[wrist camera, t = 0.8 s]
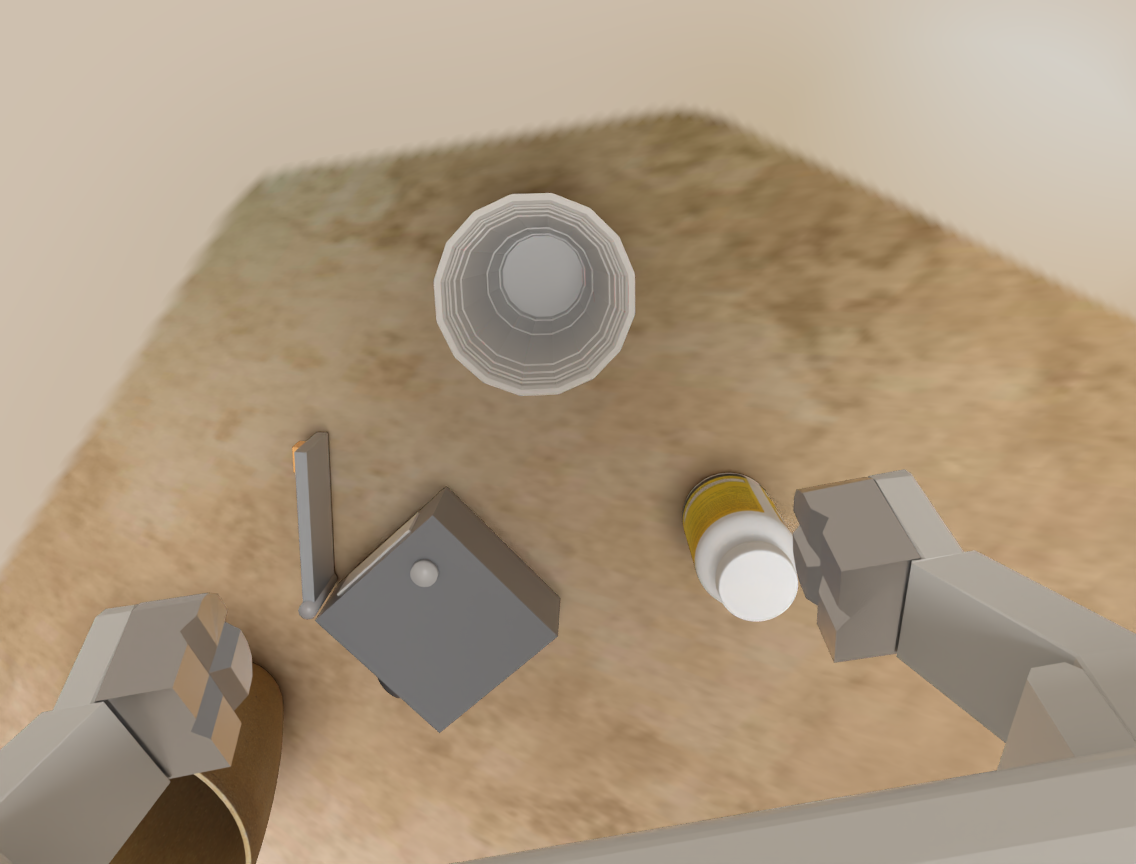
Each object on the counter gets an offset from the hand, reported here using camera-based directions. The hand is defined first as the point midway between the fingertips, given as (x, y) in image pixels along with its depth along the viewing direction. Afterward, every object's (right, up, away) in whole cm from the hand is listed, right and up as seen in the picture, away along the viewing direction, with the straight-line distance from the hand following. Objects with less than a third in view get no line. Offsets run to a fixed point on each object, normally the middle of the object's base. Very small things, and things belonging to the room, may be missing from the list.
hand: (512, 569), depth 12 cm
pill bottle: (+12, -4, +48) cm, 50 cm away
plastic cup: (-1, +12, +44) cm, 46 cm away
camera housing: (-8, -10, +50) cm, 52 cm away
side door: (-17, -4, +48) cm, 51 cm away
